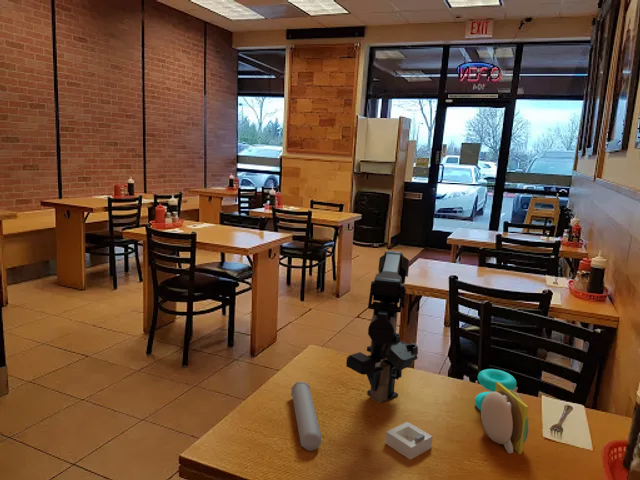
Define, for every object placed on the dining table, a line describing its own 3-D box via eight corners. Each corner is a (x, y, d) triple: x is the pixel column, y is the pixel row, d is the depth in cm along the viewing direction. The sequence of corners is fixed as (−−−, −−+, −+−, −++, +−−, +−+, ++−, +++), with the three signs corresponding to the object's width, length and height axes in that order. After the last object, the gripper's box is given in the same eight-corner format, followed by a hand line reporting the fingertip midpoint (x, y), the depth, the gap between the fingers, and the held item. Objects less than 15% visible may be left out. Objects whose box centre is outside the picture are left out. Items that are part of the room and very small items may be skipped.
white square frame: (406, 432, 118) (407, 417, 117) (431, 447, 112) (432, 432, 112) (385, 443, 113) (386, 427, 112) (410, 459, 107) (411, 443, 107)
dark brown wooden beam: (378, 394, 120) (381, 360, 118) (387, 399, 118) (390, 365, 116) (369, 397, 118) (372, 363, 116) (378, 402, 116) (381, 368, 114)
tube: (327, 437, 108) (312, 384, 132) (305, 432, 107) (295, 378, 131) (318, 458, 108) (306, 401, 133) (296, 452, 107) (288, 396, 132)
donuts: (517, 371, 133) (517, 387, 124) (512, 405, 134) (512, 422, 125) (479, 364, 136) (477, 378, 127) (475, 396, 138) (473, 413, 129)
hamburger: (472, 426, 122) (477, 383, 120) (501, 424, 124) (507, 381, 122) (498, 455, 111) (504, 408, 109) (530, 452, 112) (537, 406, 110)
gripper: (381, 348, 103) (376, 414, 105) (435, 331, 114) (429, 392, 117) (346, 332, 111) (342, 394, 114) (400, 318, 123) (395, 374, 126)
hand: (379, 388), depth 117 cm, fingers closed on dark brown wooden beam, 3 cm apart
